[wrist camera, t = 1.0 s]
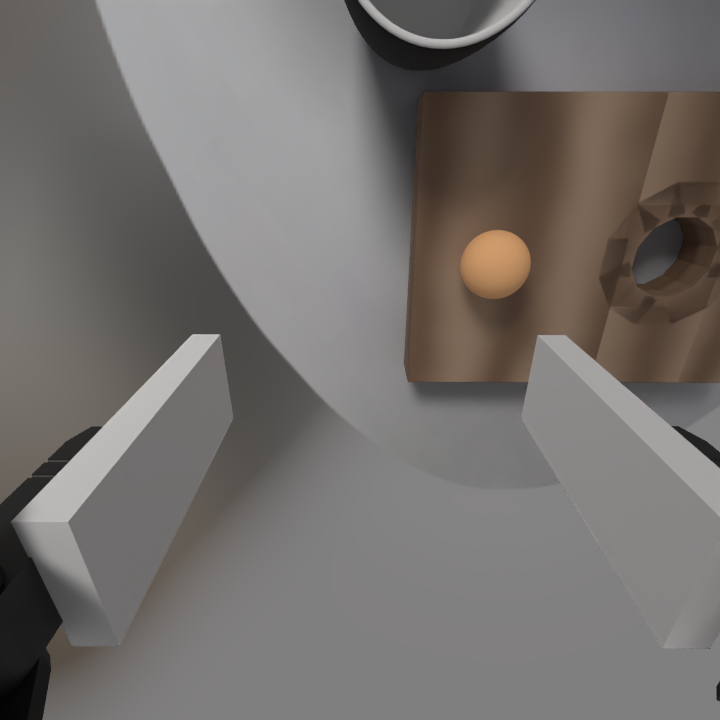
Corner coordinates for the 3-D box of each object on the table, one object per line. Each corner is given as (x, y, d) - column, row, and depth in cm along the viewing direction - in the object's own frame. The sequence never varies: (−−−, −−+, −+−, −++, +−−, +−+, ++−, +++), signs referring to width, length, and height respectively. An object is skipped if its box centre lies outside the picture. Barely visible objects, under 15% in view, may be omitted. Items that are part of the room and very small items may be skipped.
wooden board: (404, 363, 33) (407, 381, 30) (417, 99, 25) (424, 91, 23) (693, 364, 33) (722, 382, 30) (795, 99, 25) (847, 92, 23)
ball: (457, 225, 26) (473, 236, 22) (522, 225, 26) (548, 236, 22) (451, 288, 27) (464, 307, 24) (511, 288, 27) (534, 307, 24)
